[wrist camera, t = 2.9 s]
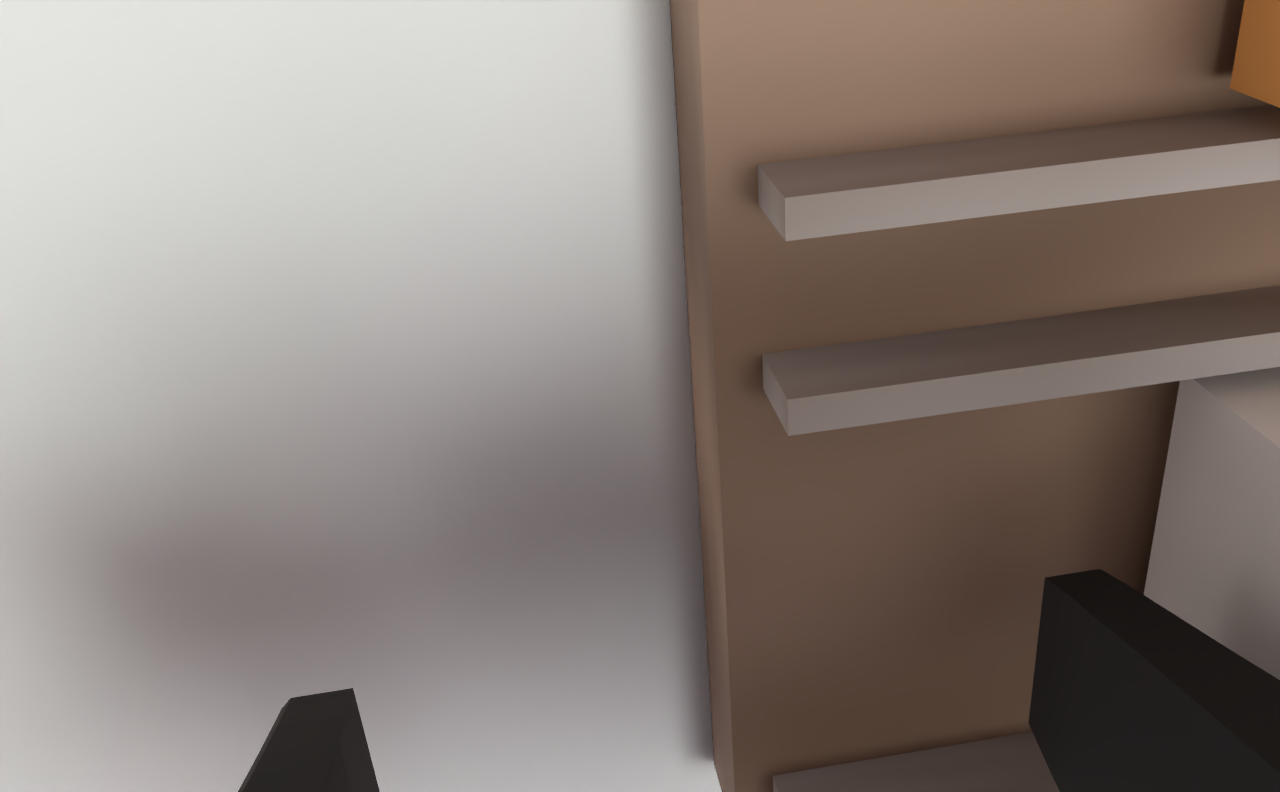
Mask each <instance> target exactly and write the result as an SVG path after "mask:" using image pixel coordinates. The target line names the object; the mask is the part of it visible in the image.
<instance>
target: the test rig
mask: <svg viewBox="0 0 1280 792" xmlns="http://www.w3.org/2000/svg"><path fill="white" fill-rule="evenodd" d="M1244 1H1245V0H670V10H671V27H672V45H673V62H674V79H675V96H676V114H677V131H678V148H679V165H680V183H681V200H682V217H683V234H684V252H685V269H686V286H687V303H688V321H689V338H690V355H691V372H692V390H693V407H694V424H695V442H696V459H697V476H698V493H699V510H700V528H701V545H702V562H703V580H704V597H705V614H706V631H707V649H708V666H709V683H710V700H711V718H712V735H713V752H714V765H715V768H716V772H717V775H718V779H719V783H720V786H721V790H722V792H1060V791H1059V789H1058V787H1057V785H1056V783H1055V781H1054V779H1053V776H1052V774H1051V772H1050V770H1049V768H1048V766H1047V763H1046V761H1045V759H1044V757H1043V754H1042V752H1041V750H1040V748H1039V745H1038V743H1037V741H1036V739H1035V736H1034V734H1033V732H1032V730H1031V727H1030V725H1029V723H1028V722H1029V714H1030V705H1031V696H1032V687H1033V678H1034V669H1035V660H1036V651H1037V642H1038V634H1039V625H1040V616H1041V607H1042V598H1043V589H1044V580H1045V577H1052V576H1058V575H1064V574H1070V573H1077V572H1083V571H1089V570H1095V569H1101V570H1103V571H1105V572H1107V573H1108V574H1110V575H1112V576H1113V577H1115V578H1117V579H1119V580H1120V581H1122V582H1124V583H1125V584H1127V585H1128V586H1130V587H1132V588H1133V589H1135V590H1137V591H1138V592H1140V593H1141V594H1143V595H1144V589H1145V584H1146V578H1147V572H1148V566H1149V560H1150V554H1151V548H1152V542H1153V536H1154V531H1155V525H1156V519H1157V513H1158V507H1159V501H1160V495H1161V489H1162V483H1163V478H1164V472H1165V466H1166V460H1167V454H1168V448H1169V442H1170V436H1171V430H1172V425H1173V419H1174V413H1175V407H1176V401H1177V395H1178V389H1179V383H1180V381H1182V380H1189V379H1196V378H1203V377H1211V376H1218V375H1225V374H1232V373H1239V372H1246V371H1253V370H1260V369H1267V368H1274V367H1280V108H1279V107H1276V106H1274V105H1271V104H1269V103H1266V102H1263V101H1261V100H1258V99H1256V98H1253V97H1251V96H1248V95H1245V94H1243V93H1240V92H1238V91H1235V90H1233V89H1230V83H1231V77H1232V71H1233V65H1234V60H1235V54H1236V48H1237V42H1238V36H1239V30H1240V24H1241V18H1242V12H1243V7H1244Z"/></svg>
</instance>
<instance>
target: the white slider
mask: <svg viewBox="0 0 1280 792" xmlns="http://www.w3.org/2000/svg"><path fill="white" fill-rule="evenodd" d="M1144 595H1145V596H1146V597H1148V598H1149V599H1151V600H1153V601H1154V602H1156V603H1157V604H1159V605H1160V606H1162V607H1164V608H1165V609H1167V610H1168V611H1170V612H1172V613H1173V614H1175V615H1176V616H1178V617H1179V618H1181V619H1183V620H1184V621H1186V622H1187V623H1189V624H1190V625H1192V626H1194V627H1195V628H1197V629H1198V630H1200V631H1202V632H1203V633H1205V634H1206V635H1208V636H1209V637H1211V638H1213V639H1214V640H1216V641H1217V642H1219V643H1221V644H1222V645H1224V646H1225V647H1227V648H1229V649H1230V650H1232V651H1233V652H1235V653H1237V654H1238V655H1240V656H1241V657H1243V658H1245V659H1246V660H1248V661H1249V662H1251V663H1253V664H1254V665H1256V666H1258V667H1259V668H1261V669H1263V670H1264V671H1266V672H1267V673H1269V674H1271V675H1272V676H1274V677H1276V678H1277V679H1279V680H1280V367H1274V368H1267V369H1260V370H1253V371H1246V372H1239V373H1232V374H1225V375H1218V376H1211V377H1203V378H1196V379H1189V380H1182V381H1180V383H1179V389H1178V395H1177V401H1176V407H1175V413H1174V419H1173V425H1172V430H1171V436H1170V442H1169V448H1168V454H1167V460H1166V466H1165V472H1164V478H1163V483H1162V489H1161V495H1160V501H1159V507H1158V513H1157V519H1156V525H1155V531H1154V536H1153V542H1152V548H1151V554H1150V560H1149V566H1148V572H1147V578H1146V584H1145V589H1144Z"/></svg>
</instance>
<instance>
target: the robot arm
mask: <svg viewBox="0 0 1280 792" xmlns="http://www.w3.org/2000/svg"><path fill="white" fill-rule="evenodd" d="M1028 723H1029V725H1030V727H1031V730H1032V732H1033V734H1034V736H1035V739H1036V741H1037V743H1038V745H1039V748H1040V750H1041V752H1042V754H1043V757H1044V759H1045V761H1046V763H1047V766H1048V768H1049V770H1050V772H1051V774H1052V776H1053V779H1054V781H1055V783H1056V785H1057V787H1058V789H1059V791H1060V792H1280V680H1279V679H1277V678H1276V677H1274V676H1272V675H1271V674H1269V673H1267V672H1266V671H1264V670H1263V669H1261V668H1259V667H1258V666H1256V665H1254V664H1253V663H1251V662H1249V661H1248V660H1246V659H1245V658H1243V657H1241V656H1240V655H1238V654H1237V653H1235V652H1233V651H1232V650H1230V649H1229V648H1227V647H1225V646H1224V645H1222V644H1221V643H1219V642H1217V641H1216V640H1214V639H1213V638H1211V637H1209V636H1208V635H1206V634H1205V633H1203V632H1202V631H1200V630H1198V629H1197V628H1195V627H1194V626H1192V625H1190V624H1189V623H1187V622H1186V621H1184V620H1183V619H1181V618H1179V617H1178V616H1176V615H1175V614H1173V613H1172V612H1170V611H1168V610H1167V609H1165V608H1164V607H1162V606H1160V605H1159V604H1157V603H1156V602H1154V601H1153V600H1151V599H1149V598H1148V597H1146V596H1145V595H1143V594H1141V593H1140V592H1138V591H1137V590H1135V589H1133V588H1132V587H1130V586H1128V585H1127V584H1125V583H1124V582H1122V581H1120V580H1119V579H1117V578H1115V577H1113V576H1112V575H1110V574H1108V573H1107V572H1105V571H1103V570H1101V569H1095V570H1089V571H1083V572H1077V573H1070V574H1064V575H1058V576H1052V577H1045V580H1044V589H1043V598H1042V607H1041V616H1040V625H1039V634H1038V642H1037V651H1036V660H1035V669H1034V678H1033V687H1032V696H1031V705H1030V714H1029V722H1028ZM238 792H379V788H378V784H377V780H376V776H375V772H374V768H373V765H372V761H371V757H370V753H369V749H368V745H367V741H366V737H365V734H364V730H363V726H362V722H361V718H360V714H359V710H358V706H357V703H356V699H355V695H354V691H353V688H351V689H345V690H339V691H332V692H326V693H320V694H314V695H307V696H301V697H295V698H291V699H290V700H289V701H288V702H287V703H286V704H285V706H284V707H283V708H282V709H281V711H280V713H279V715H278V717H277V719H276V721H275V723H274V725H273V727H272V729H271V731H270V733H269V735H268V737H267V739H266V741H265V743H264V744H263V746H262V748H261V750H260V752H259V754H258V756H257V758H256V760H255V762H254V763H253V765H252V767H251V769H250V771H249V773H248V775H247V776H246V778H245V780H244V782H243V784H242V785H241V787H240V789H239V791H238Z"/></svg>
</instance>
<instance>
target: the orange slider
mask: <svg viewBox="0 0 1280 792" xmlns="http://www.w3.org/2000/svg"><path fill="white" fill-rule="evenodd" d="M1230 89H1233V90H1235V91H1238V92H1240V93H1243V94H1245V95H1248V96H1251V97H1253V98H1256V99H1258V100H1261V101H1263V102H1266V103H1269V104H1271V105H1274V106H1276V107H1279V108H1280V0H1245V1H1244V7H1243V12H1242V18H1241V24H1240V30H1239V36H1238V42H1237V48H1236V54H1235V60H1234V65H1233V71H1232V77H1231V83H1230Z"/></svg>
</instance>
